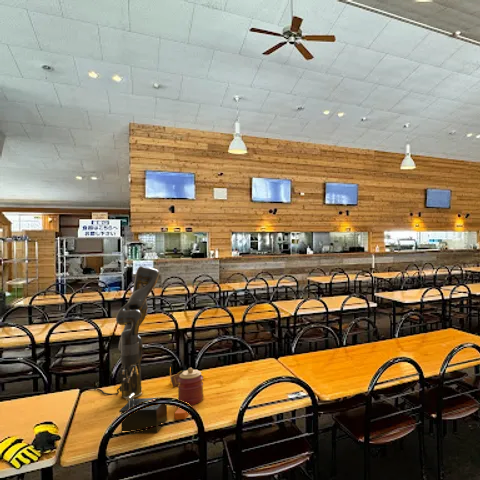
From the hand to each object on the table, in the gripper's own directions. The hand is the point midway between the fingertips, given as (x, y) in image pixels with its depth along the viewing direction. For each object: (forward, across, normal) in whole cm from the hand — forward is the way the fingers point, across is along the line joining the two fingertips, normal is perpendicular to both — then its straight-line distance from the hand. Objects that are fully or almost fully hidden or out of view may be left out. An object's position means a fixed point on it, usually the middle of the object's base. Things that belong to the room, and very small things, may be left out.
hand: (130, 387), depth 176 cm
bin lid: (+9, 0, +6) cm, 10 cm away
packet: (+19, -10, +20) cm, 29 cm away
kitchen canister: (+19, -27, +19) cm, 38 cm away
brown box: (+19, -52, +9) cm, 56 cm away
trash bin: (+19, 0, +6) cm, 20 cm away
